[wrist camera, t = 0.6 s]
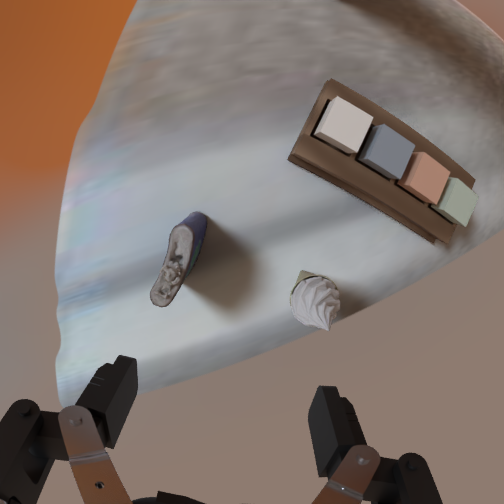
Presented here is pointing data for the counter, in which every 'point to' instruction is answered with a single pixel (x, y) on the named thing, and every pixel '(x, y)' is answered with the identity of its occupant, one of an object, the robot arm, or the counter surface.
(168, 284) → the flask
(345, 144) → the ivory key
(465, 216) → the sage key
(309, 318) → the ice cream cone
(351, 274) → the counter surface
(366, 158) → the slate key
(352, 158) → the brown wooden tray
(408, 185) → the terracotta key
